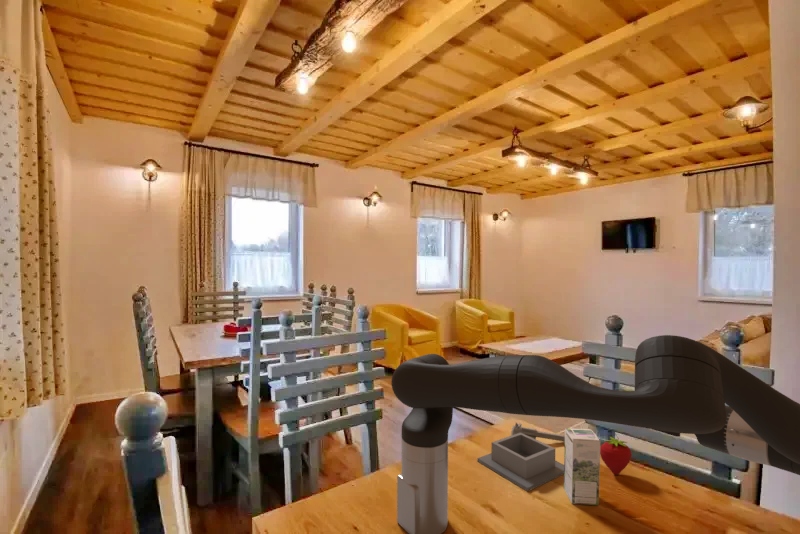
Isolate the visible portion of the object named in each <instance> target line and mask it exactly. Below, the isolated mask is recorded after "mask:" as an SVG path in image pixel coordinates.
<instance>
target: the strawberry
mask: <svg viewBox="0 0 800 534" xmlns="http://www.w3.org/2000/svg"><path fill="white" fill-rule="evenodd" d="M613 433H614V434H615V437H617V438H614V437H612V436H609V438H610V440H604V443H601V444H600V459H601V460H602V461H603V463H604V464H605V465H606V467H607V468H608V469H609V470H610V472H611V473H612V474H613V475H615V476H616V475H617V476H618V475H619V474H620V473H621V472H623V470H625V469H626V467H627V466H628V464H629V463H630V461H631V458H632V450H631V448H630V447H629V446H628V445H627V443H628V441H624V440H619V437H618V435H617V434H616V432H613Z"/></svg>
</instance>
